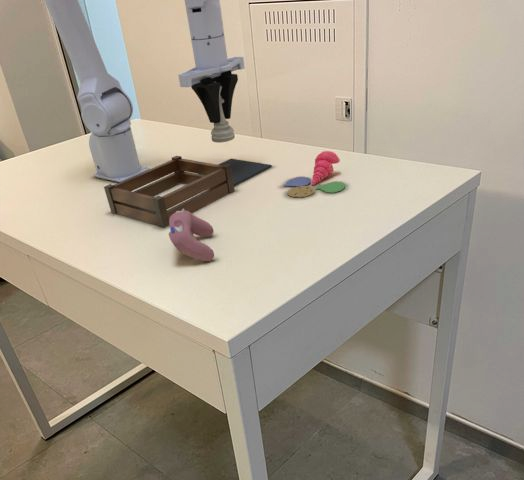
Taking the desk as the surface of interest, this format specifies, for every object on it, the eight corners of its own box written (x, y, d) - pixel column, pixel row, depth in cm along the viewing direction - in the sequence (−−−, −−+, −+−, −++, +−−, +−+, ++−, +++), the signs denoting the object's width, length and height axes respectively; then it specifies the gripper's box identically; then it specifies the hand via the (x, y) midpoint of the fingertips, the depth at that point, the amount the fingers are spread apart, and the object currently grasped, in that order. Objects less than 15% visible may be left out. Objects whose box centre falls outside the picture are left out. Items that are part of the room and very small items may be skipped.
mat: (193, 178, 108) (193, 176, 108) (231, 160, 114) (231, 158, 114) (234, 186, 102) (234, 184, 102) (271, 166, 108) (271, 164, 108)
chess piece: (213, 137, 105) (204, 80, 99) (235, 134, 105) (228, 77, 99) (210, 143, 102) (201, 85, 96) (234, 141, 101) (225, 82, 95)
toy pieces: (289, 173, 104) (287, 150, 101) (348, 171, 101) (348, 147, 99) (277, 198, 94) (275, 173, 92) (342, 196, 92) (342, 170, 89)
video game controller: (192, 245, 87) (164, 211, 83) (216, 230, 85) (188, 194, 82) (191, 275, 79) (160, 238, 75) (217, 258, 78) (186, 220, 74)
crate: (111, 212, 98) (103, 186, 95) (181, 179, 108) (176, 155, 105) (164, 228, 90) (157, 199, 87) (234, 190, 100) (231, 164, 97)
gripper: (193, 45, 87) (208, 133, 95) (252, 28, 95) (261, 111, 103) (164, 45, 91) (180, 130, 99) (223, 29, 99) (234, 108, 107)
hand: (220, 120), depth 101 cm, fingers closed on chess piece, 2 cm apart
